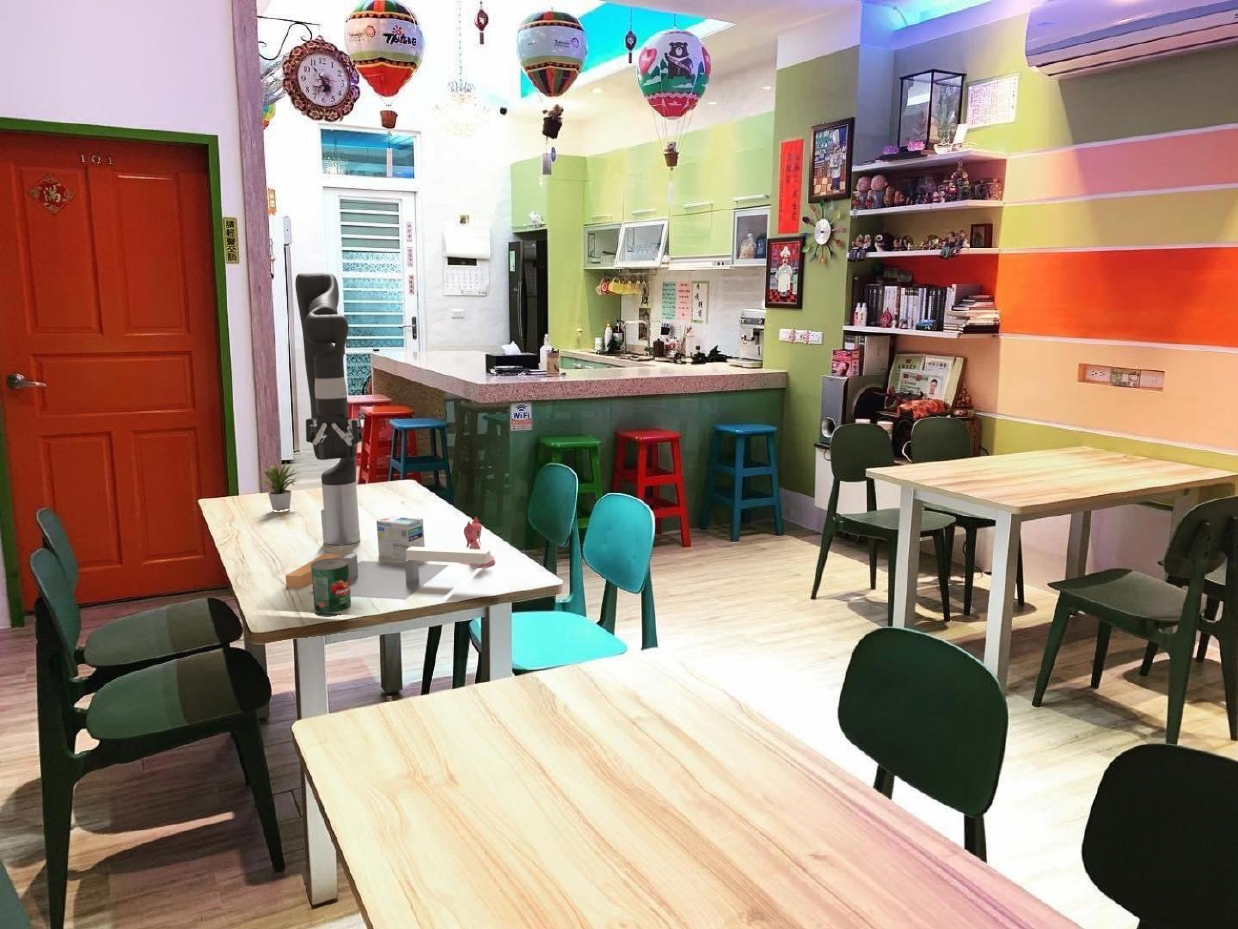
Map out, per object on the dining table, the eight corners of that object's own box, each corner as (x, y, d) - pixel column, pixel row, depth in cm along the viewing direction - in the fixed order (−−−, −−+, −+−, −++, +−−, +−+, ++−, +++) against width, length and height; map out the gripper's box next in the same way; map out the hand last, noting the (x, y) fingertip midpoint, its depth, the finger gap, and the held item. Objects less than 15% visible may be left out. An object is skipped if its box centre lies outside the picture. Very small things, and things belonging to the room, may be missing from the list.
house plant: (294, 516, 284) (290, 466, 281) (251, 517, 285) (246, 466, 282) (310, 506, 298) (306, 458, 295) (269, 506, 299) (264, 458, 296)
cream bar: (406, 560, 214) (406, 550, 213) (411, 556, 217) (411, 546, 216) (486, 563, 210) (485, 553, 209) (490, 560, 213) (490, 550, 212)
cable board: (308, 597, 208) (306, 571, 207) (361, 564, 233) (360, 541, 232) (405, 603, 203) (403, 576, 202) (448, 568, 228) (447, 545, 227)
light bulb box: (426, 557, 239) (424, 518, 237) (410, 564, 233) (408, 524, 231) (394, 552, 243) (391, 514, 241) (377, 559, 237) (375, 520, 235)
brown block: (286, 591, 214) (285, 575, 213) (326, 568, 231) (325, 553, 230) (302, 592, 213) (300, 576, 212) (340, 569, 230) (339, 554, 229)
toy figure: (487, 569, 227) (485, 523, 225) (451, 567, 229) (448, 522, 227) (499, 558, 237) (497, 514, 234) (464, 556, 239) (462, 513, 236)
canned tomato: (349, 615, 196) (345, 567, 194) (311, 618, 195) (307, 569, 193) (353, 603, 204) (350, 557, 202) (317, 605, 202) (313, 559, 200)
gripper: (297, 397, 221) (302, 461, 224) (350, 397, 218) (354, 463, 221) (313, 393, 228) (318, 456, 231) (364, 394, 226) (368, 457, 229)
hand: (335, 459), depth 226 cm, fingers open, 8 cm apart
